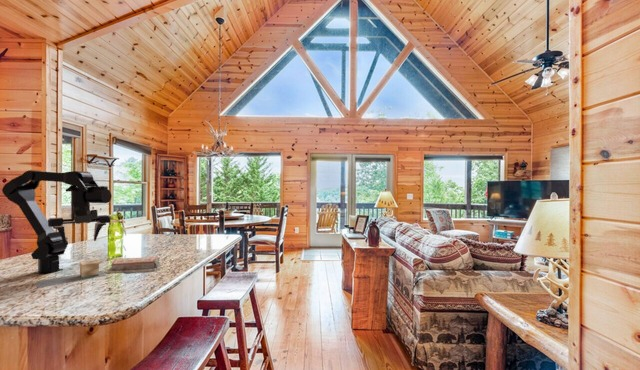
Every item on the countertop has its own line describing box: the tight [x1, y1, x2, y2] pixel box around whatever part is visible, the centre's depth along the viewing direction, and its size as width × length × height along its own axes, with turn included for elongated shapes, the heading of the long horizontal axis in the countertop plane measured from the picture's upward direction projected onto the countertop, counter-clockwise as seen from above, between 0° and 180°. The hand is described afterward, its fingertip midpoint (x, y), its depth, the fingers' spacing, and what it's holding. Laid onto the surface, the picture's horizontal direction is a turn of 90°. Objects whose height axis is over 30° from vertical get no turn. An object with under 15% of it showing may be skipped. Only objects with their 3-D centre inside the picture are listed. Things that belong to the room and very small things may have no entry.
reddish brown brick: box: [103, 256, 162, 274], centre depth 122 cm, size 18×5×10 cm
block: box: [79, 259, 100, 279], centre depth 111 cm, size 5×5×5 cm
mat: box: [35, 270, 107, 289], centre depth 108 cm, size 19×9×1 cm, turn 136°
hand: (80, 242), depth 116 cm, fingers open, 9 cm apart
